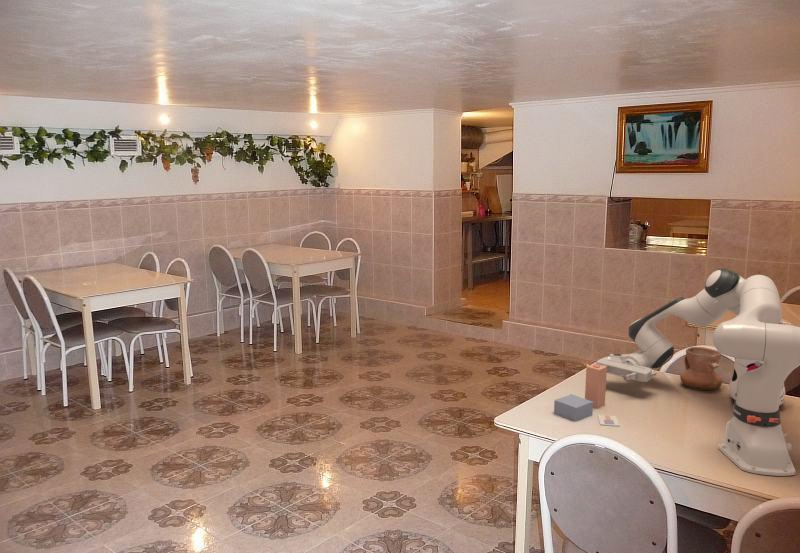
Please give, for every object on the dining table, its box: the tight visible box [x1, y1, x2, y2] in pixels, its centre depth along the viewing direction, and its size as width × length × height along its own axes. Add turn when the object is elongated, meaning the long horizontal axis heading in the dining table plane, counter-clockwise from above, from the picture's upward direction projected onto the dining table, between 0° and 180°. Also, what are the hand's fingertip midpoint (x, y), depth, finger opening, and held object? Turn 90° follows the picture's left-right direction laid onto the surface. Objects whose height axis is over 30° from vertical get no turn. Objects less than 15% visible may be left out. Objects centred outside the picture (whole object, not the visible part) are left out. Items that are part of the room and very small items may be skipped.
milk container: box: [728, 358, 786, 407], centre depth 230 cm, size 17×17×18 cm
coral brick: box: [584, 363, 608, 409], centre depth 229 cm, size 5×5×14 cm
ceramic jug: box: [680, 346, 723, 391], centre depth 247 cm, size 18×14×14 cm
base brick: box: [553, 394, 594, 423], centre depth 221 cm, size 9×9×5 cm
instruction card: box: [597, 414, 621, 427], centre depth 216 cm, size 8×6×1 cm
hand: (613, 374), depth 237 cm, fingers open, 8 cm apart
